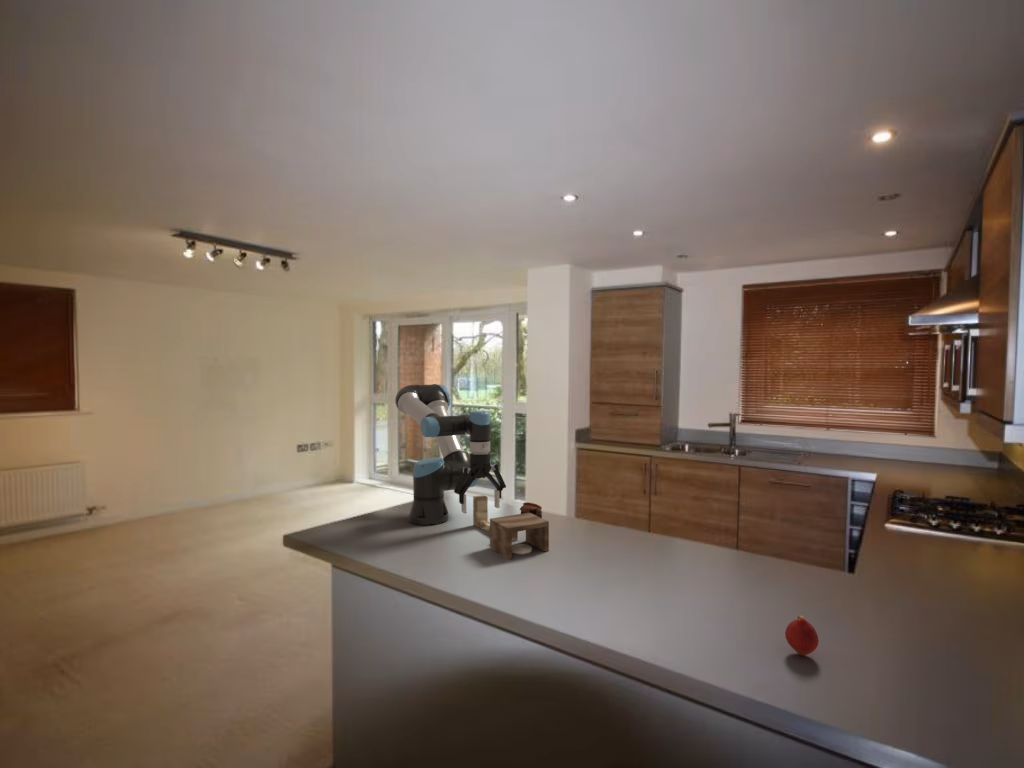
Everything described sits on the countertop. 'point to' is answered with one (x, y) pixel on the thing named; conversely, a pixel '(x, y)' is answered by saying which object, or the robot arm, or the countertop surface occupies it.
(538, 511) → the pottery mug
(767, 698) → the countertop surface
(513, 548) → the ceramic disc
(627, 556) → the countertop surface
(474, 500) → the wooden mallet
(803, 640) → the onion
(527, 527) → the walnut bench
